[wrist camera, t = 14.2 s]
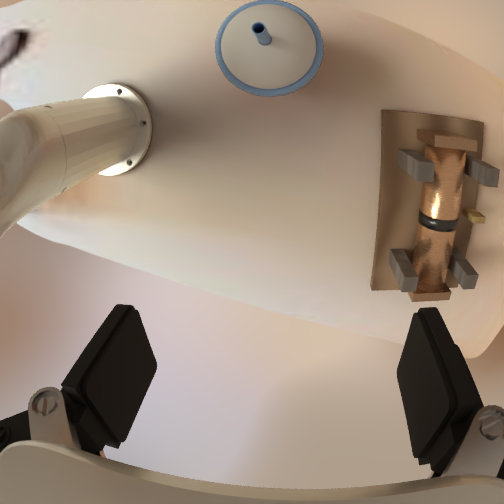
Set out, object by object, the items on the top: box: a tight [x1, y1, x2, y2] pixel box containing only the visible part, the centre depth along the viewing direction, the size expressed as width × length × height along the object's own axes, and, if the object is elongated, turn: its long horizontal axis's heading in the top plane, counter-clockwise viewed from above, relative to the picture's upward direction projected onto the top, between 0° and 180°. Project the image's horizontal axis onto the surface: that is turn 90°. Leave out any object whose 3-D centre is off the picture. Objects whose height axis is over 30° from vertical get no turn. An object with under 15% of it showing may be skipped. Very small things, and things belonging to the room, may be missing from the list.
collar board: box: [370, 110, 500, 292], centre depth 33 cm, size 14×24×8 cm, turn 4°
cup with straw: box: [215, 0, 324, 97], centre depth 24 cm, size 9×9×18 cm
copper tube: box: [408, 129, 477, 302], centre depth 33 cm, size 20×6×6 cm, turn 4°
